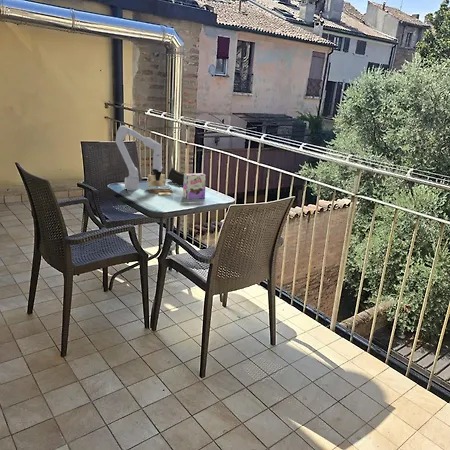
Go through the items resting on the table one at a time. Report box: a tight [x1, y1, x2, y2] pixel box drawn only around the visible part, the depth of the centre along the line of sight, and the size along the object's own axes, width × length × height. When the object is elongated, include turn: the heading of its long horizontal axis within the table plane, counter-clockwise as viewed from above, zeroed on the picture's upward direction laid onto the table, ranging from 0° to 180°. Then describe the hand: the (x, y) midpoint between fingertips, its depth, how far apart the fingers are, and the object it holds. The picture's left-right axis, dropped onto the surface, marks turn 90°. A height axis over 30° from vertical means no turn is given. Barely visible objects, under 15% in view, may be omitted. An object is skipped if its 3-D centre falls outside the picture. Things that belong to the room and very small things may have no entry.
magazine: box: [168, 167, 185, 187], centre depth 311 cm, size 17×3×30 cm
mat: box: [144, 187, 157, 190], centre depth 292 cm, size 16×8×1 cm, turn 114°
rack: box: [148, 188, 174, 194], centre depth 283 cm, size 16×5×2 cm, turn 114°
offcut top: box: [157, 193, 172, 197], centre depth 276 cm, size 8×4×1 cm, turn 111°
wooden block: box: [147, 173, 167, 188], centre depth 290 cm, size 12×2×8 cm, turn 114°
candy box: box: [182, 172, 207, 200], centre depth 274 cm, size 14×6×16 cm, turn 117°
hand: (157, 180), depth 290 cm, fingers closed on wooden block, 2 cm apart
